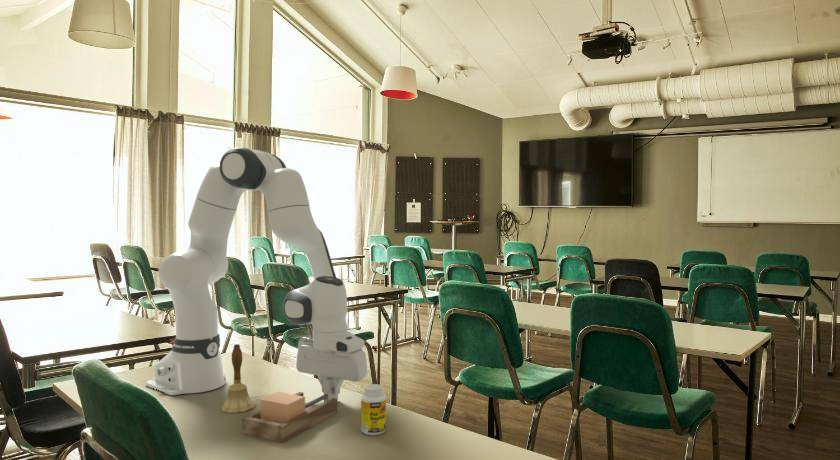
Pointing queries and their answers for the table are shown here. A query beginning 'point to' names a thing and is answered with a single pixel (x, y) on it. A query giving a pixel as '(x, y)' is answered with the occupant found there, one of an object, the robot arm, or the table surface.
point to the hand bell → (237, 388)
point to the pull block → (291, 404)
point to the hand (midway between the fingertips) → (331, 393)
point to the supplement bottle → (373, 410)
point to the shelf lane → (288, 422)
